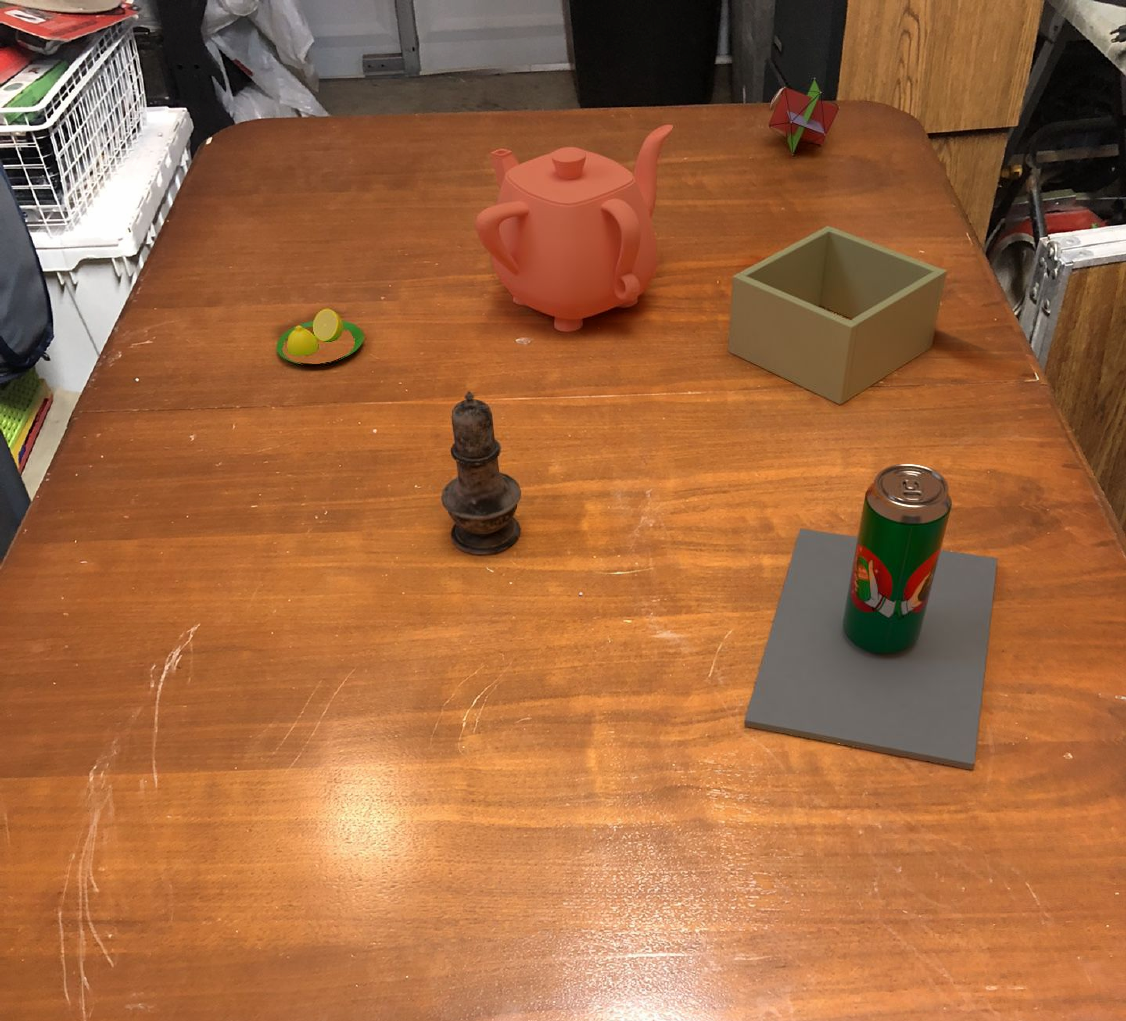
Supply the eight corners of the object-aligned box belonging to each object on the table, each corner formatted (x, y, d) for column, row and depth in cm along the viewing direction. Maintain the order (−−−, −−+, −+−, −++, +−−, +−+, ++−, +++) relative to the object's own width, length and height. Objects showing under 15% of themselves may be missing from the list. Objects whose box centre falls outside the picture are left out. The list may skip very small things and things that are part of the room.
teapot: (500, 258, 118) (488, 115, 108) (669, 257, 116) (673, 112, 106) (482, 342, 107) (466, 192, 97) (667, 342, 106) (671, 190, 96)
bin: (818, 299, 109) (827, 225, 104) (931, 347, 103) (947, 270, 98) (727, 351, 104) (732, 275, 99) (840, 405, 98) (851, 327, 92)
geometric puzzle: (844, 112, 133) (808, 52, 128) (855, 136, 128) (818, 74, 124) (790, 155, 136) (752, 98, 132) (799, 179, 132) (760, 121, 127)
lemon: (318, 317, 112) (312, 289, 110) (382, 339, 108) (377, 310, 106) (259, 356, 107) (252, 327, 105) (324, 379, 104) (318, 350, 102)
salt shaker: (482, 500, 91) (466, 359, 82) (540, 527, 89) (529, 385, 80) (430, 538, 88) (407, 397, 79) (488, 568, 86) (471, 425, 77)
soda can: (914, 609, 80) (950, 460, 71) (922, 661, 76) (960, 511, 67) (839, 607, 80) (864, 458, 71) (843, 658, 77) (870, 509, 68)
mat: (799, 534, 87) (800, 528, 86) (995, 564, 83) (997, 558, 83) (743, 726, 74) (744, 720, 74) (972, 770, 71) (974, 764, 70)
